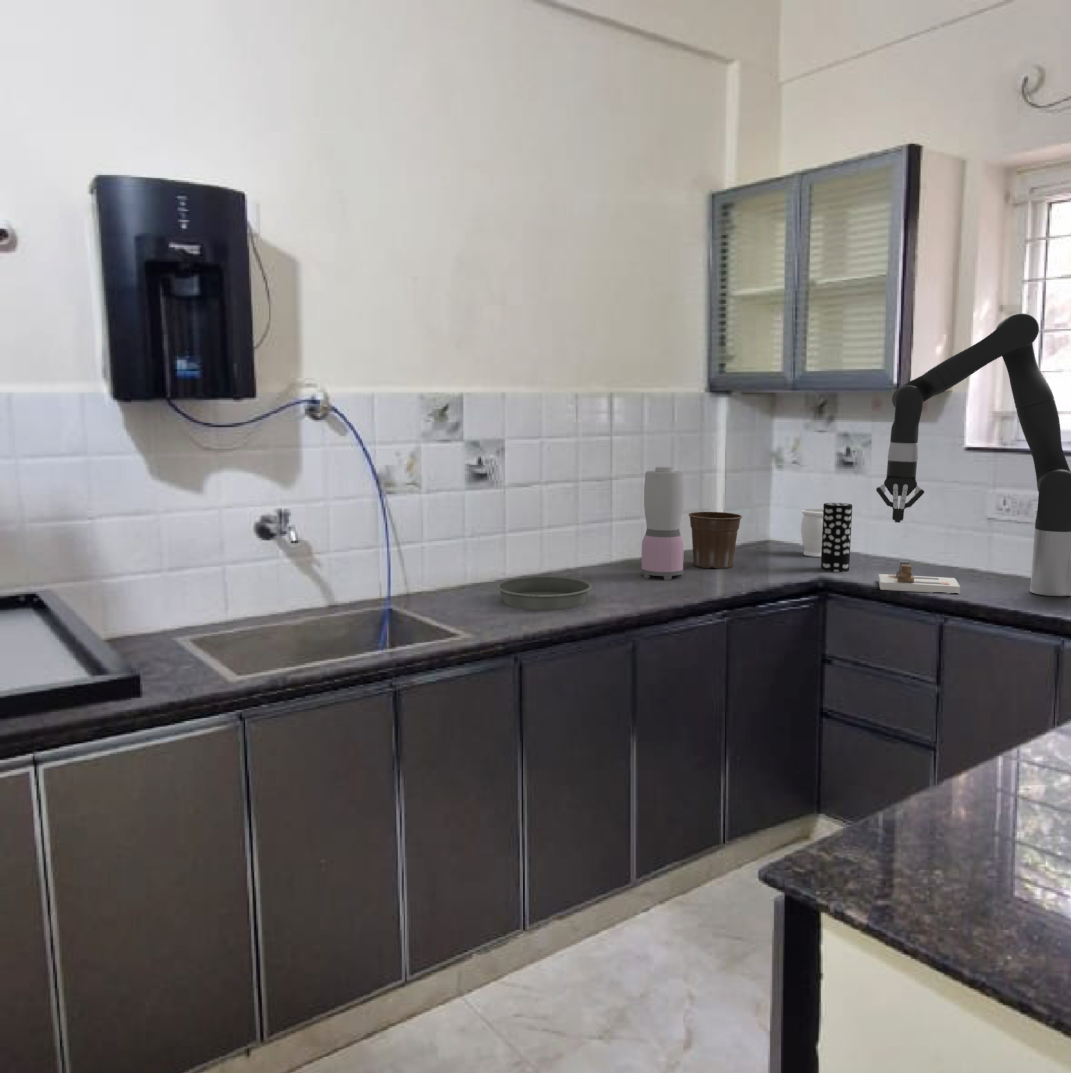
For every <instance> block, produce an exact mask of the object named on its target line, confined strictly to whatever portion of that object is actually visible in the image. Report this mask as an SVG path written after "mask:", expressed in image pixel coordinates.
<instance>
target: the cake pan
mask: <svg viewBox="0 0 1071 1073" xmlns="http://www.w3.org/2000/svg"><path fill="white" fill-rule="evenodd" d="M592 588H593V585H592V584H591V583H590V582H588V581H586V580H582V579H579V578H573V577H567V576H566V577H565V576H553V575H552V576H551V575H548V576H545V575H544V576H543V575H542V576H541V575H539V576H538V575H536V576H524V577H523V576H521V577H515V578H509V579H506V580H502V581H500V582H498V583H497V584H496V589H497V590H498V591H499V592H500V595H501V598H502V602H503V604H505V605H507V606H509V607H512V608H515V609H516V608H517V609H523V610H531V611H532V610H533V611H554V610H555V611H556V610H566V609H573V608H577V607H580V606H582V605H585V603H586V602H587V596H588V593H589V591H591V590H592Z"/></svg>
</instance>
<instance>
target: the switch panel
mask: <svg viewBox="0 0 1071 1073" xmlns="http://www.w3.org/2000/svg"><path fill="white" fill-rule="evenodd" d="M912 576H913V577H914V582H900V581H898V580H897V577H896V574H886V573H885V574H883V573H878V584H879V589H880V590H883V591H901V592H902V591H903V592H918V593H933V592H947V593H946V594H950V593H958V594H957V595H961V586H960V584H959V583H958V581H957V580H956V578H955V577H943V576H942V577H940V576H923V575H921V576H920V575H912Z"/></svg>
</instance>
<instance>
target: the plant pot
mask: <svg viewBox="0 0 1071 1073" xmlns="http://www.w3.org/2000/svg"><path fill="white" fill-rule="evenodd" d="M688 516H689V523H690V528H691V542H692V561H693V562H692V564H693V566H695V567H697V568H702V569H710V568H714V569H715V570H720V569H721V570H725V569H731V568H733V566H734V559H735V552H736V544H737V536H738V530H739V529H740V522H741V519H742V518H743V515H741V514H738V513H732V512H725V511H696V512H690V513H688Z"/></svg>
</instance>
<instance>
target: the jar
mask: <svg viewBox="0 0 1071 1073" xmlns="http://www.w3.org/2000/svg"><path fill="white" fill-rule="evenodd" d="M801 513H802V515H803V517H802V520H801V527H800V529H801V530H800V532H801V543H802V546H803V549H804V551H803V555H804V556H806V557H812V558H813V557H814V558H821V550H822V528H823V508H822V509H821V508H810V509H802V510H801Z"/></svg>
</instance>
